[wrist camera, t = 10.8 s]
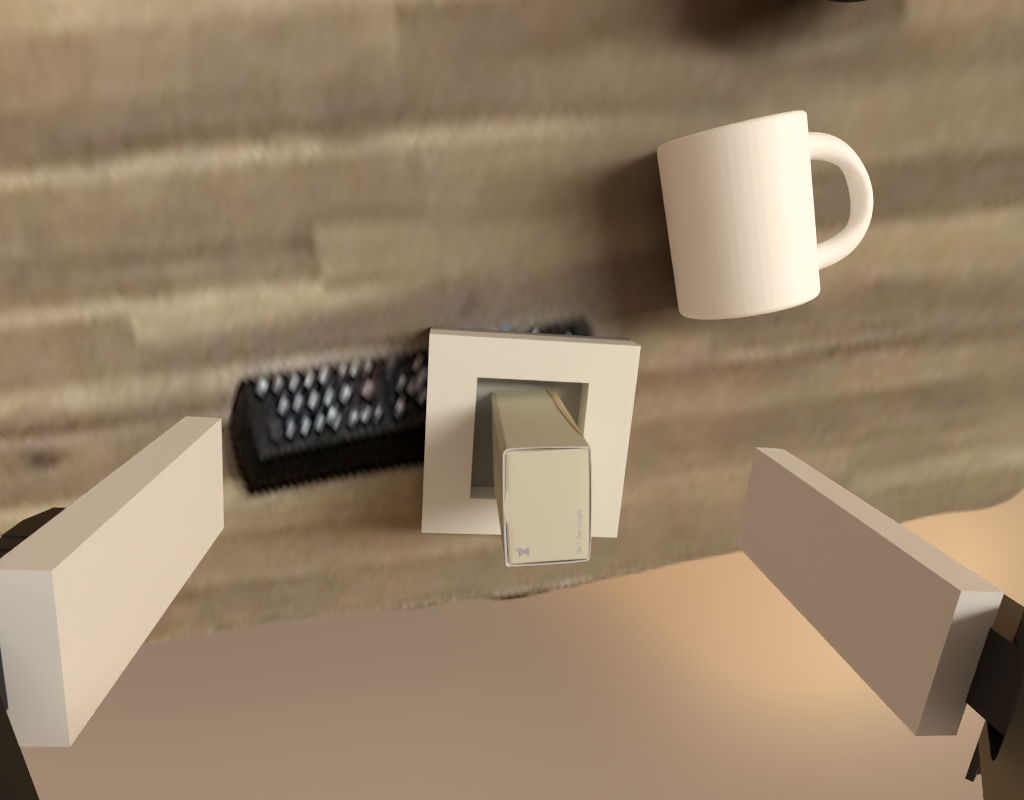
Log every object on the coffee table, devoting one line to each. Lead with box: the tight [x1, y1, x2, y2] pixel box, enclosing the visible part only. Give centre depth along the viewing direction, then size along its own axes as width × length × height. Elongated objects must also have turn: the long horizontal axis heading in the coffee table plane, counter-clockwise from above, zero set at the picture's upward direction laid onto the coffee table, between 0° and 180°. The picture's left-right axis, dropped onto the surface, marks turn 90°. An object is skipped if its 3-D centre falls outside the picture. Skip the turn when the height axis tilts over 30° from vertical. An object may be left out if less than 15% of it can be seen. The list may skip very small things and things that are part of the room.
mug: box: [657, 110, 873, 319], centre depth 37 cm, size 12×10×8 cm
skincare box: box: [491, 390, 592, 567], centre depth 36 cm, size 6×4×12 cm
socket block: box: [421, 327, 641, 537], centre depth 41 cm, size 13×13×3 cm
